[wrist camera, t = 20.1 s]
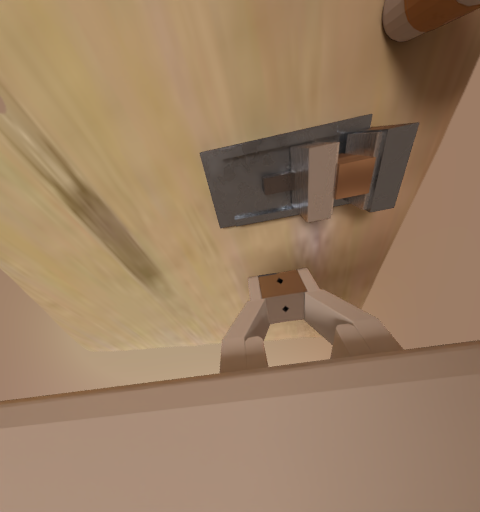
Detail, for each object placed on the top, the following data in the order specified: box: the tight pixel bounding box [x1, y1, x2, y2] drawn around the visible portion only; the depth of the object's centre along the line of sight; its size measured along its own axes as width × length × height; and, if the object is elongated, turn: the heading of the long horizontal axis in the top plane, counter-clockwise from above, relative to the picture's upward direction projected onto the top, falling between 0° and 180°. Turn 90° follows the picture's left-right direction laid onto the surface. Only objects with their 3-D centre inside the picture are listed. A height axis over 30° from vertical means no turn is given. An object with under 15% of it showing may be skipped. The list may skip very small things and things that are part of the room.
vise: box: [200, 114, 419, 228], centre depth 25 cm, size 12×24×9 cm, turn 101°
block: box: [334, 153, 376, 199], centre depth 24 cm, size 4×4×8 cm
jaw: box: [262, 142, 340, 223], centre depth 24 cm, size 9×8×7 cm
